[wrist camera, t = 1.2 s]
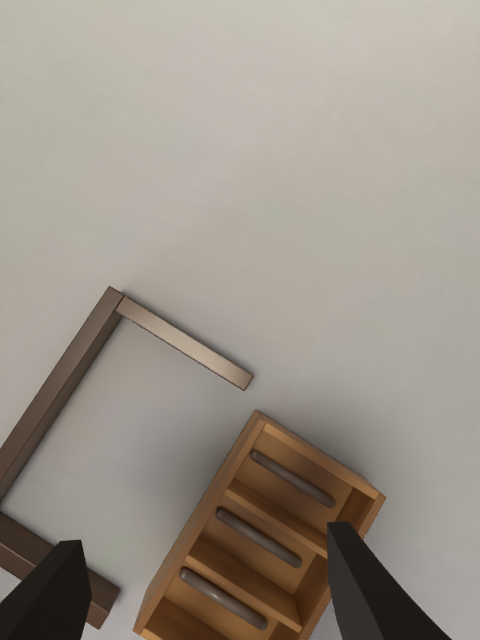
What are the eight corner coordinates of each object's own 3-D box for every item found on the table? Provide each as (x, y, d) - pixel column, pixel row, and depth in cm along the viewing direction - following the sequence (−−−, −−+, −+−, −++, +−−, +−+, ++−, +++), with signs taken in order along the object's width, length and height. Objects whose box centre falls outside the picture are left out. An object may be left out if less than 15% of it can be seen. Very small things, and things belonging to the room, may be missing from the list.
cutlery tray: (363, 477, 28) (386, 497, 24) (260, 662, 26) (266, 717, 22) (254, 409, 28) (259, 418, 24) (146, 590, 26) (132, 631, 22)
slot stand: (251, 374, 28) (254, 375, 26) (110, 605, 26) (98, 630, 24) (119, 291, 28) (109, 285, 26) (-30, 515, 26) (-56, 531, 24)
